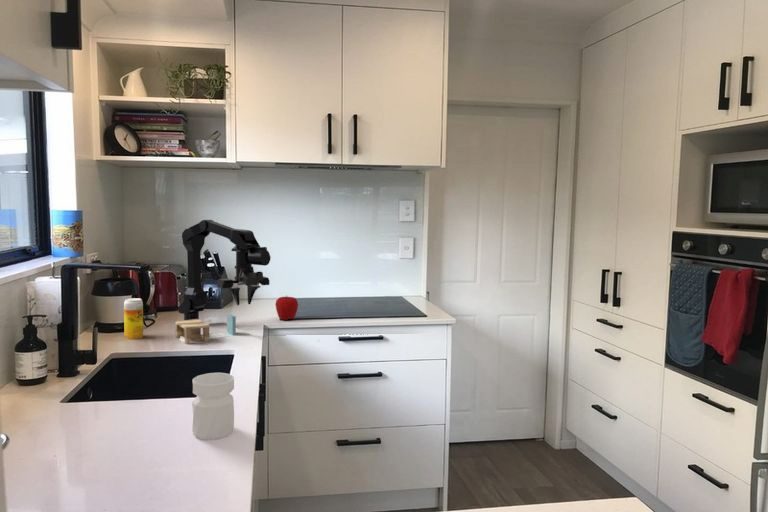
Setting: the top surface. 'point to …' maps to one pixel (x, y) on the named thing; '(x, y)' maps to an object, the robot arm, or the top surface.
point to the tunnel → (188, 326)
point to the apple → (286, 307)
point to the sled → (230, 332)
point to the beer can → (133, 318)
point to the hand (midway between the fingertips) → (243, 304)
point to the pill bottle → (213, 406)
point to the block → (195, 334)
